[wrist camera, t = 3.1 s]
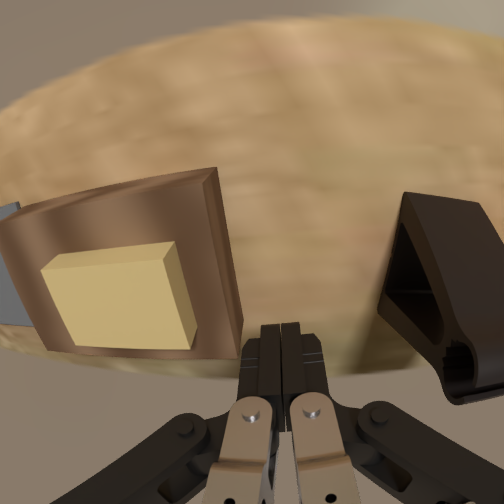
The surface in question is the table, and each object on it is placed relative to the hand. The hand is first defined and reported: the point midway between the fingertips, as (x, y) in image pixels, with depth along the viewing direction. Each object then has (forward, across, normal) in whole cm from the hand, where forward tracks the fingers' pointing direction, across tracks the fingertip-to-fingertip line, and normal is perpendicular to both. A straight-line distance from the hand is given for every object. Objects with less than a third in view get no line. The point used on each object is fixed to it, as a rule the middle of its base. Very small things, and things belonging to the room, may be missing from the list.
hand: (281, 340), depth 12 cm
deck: (+9, +11, 0) cm, 14 cm away
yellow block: (+5, +9, 0) cm, 10 cm away
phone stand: (+9, -10, +2) cm, 14 cm away
